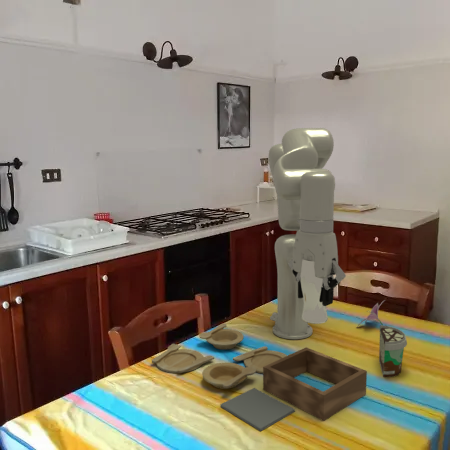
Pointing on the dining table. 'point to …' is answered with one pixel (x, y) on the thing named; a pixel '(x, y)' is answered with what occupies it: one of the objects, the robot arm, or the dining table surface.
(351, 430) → the dining table surface
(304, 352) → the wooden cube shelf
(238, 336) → the tableware set
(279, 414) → the grey mat
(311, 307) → the beer glass
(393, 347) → the food container
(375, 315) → the lily
